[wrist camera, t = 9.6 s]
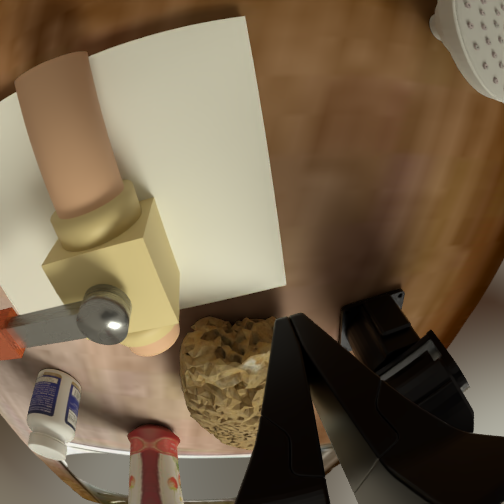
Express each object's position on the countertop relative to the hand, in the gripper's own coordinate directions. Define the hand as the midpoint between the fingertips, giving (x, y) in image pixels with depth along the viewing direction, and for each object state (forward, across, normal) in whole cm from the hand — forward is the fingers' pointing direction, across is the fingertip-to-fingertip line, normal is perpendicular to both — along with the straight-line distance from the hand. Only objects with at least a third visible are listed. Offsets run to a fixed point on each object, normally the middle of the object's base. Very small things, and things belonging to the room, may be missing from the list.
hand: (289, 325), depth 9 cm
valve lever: (+6, +13, +2) cm, 14 cm away
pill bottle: (+12, +23, +16) cm, 31 cm away
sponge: (+12, +2, +20) cm, 23 cm away
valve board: (+12, +9, -1) cm, 15 cm away
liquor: (+12, +17, +29) cm, 36 cm away
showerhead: (+12, -16, -10) cm, 22 cm away
